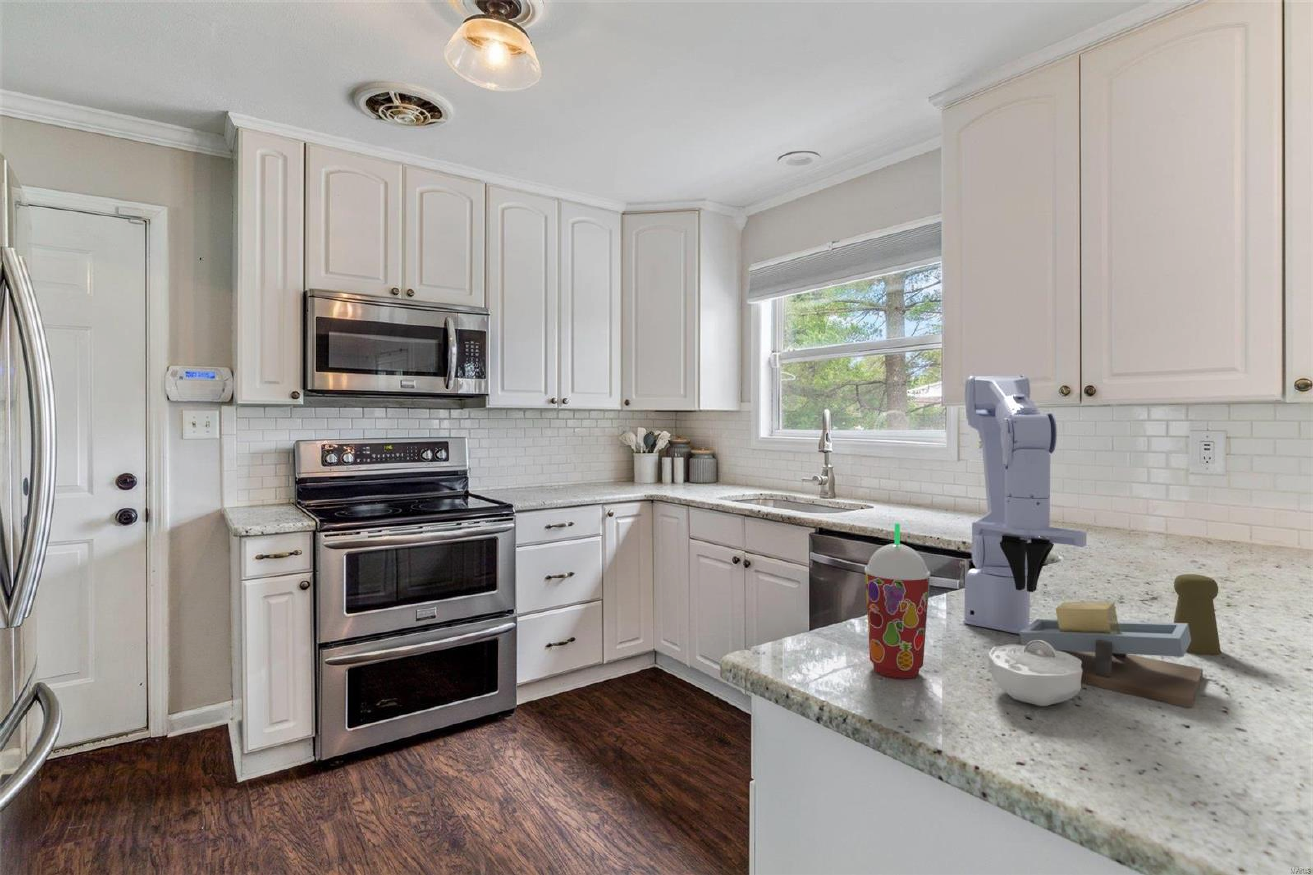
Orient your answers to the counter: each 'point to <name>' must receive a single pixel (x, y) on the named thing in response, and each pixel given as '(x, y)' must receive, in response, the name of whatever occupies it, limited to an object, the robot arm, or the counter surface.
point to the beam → (1115, 638)
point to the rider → (1087, 617)
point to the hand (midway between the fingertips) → (1026, 589)
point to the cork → (1198, 612)
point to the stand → (1139, 675)
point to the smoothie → (897, 609)
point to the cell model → (1036, 672)
